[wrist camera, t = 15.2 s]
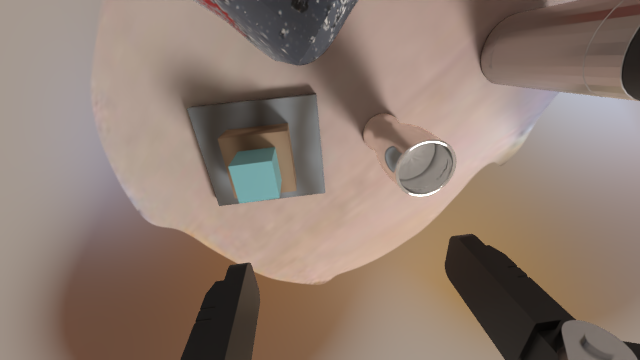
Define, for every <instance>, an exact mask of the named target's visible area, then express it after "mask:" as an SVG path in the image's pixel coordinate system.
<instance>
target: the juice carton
mask: <svg viewBox="0 0 640 360" xmlns="http://www.w3.org/2000/svg"><path fill="white" fill-rule="evenodd" d="M193 1H195V2H196V3H198V4H199V5H201V6H202V7H204V8H205V9H207V10H209V11H210V12H212V13H214V14H215V15H217V16H219V17H220V18H222V19H223V20H225V21H226V22H227V23H229V24H230V25H231V26H232V27H233V28H235V29H236V30H237V31H238V32H239V33H241V34H242V35H243V36H244V37H245V38H246V39H247V40H248V41H250V42H251V43H252V44H253V45H254V46H256V47H257V48H258V49H259V50H261V51H262V52H263V53H265V54H266V55H268V56H269V57H271V58H272V59H274V60H275V61H281V62H285V63H290V64H293V65H305V64H308V63H310V62H313V61H315V60H316V59H317V58H318V57H319V56H321V55H322V54H323V53H324V52H325V51H326V49H327V48H328V47H329V46H330V45H331V43H332V42H333V40H334V39H335V37H336V36H337V34H338V32H339V31H340V29H341V27H342V26H343V24H344V22H345V20H346V19H347V17H348V15H349V14H350V12H351V11H352V9H353V7H354V6H355V4H356V3H357V1H358V0H193Z"/></svg>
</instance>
